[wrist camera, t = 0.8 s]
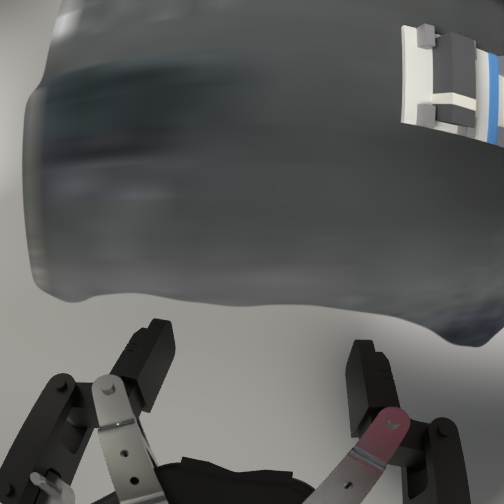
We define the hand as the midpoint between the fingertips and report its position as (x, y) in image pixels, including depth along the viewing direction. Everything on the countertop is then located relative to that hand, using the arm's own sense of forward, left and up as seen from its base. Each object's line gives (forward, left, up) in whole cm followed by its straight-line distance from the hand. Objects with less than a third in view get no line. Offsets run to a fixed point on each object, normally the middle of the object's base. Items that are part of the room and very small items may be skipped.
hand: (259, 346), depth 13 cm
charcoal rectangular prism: (-16, +18, -24) cm, 34 cm away
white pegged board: (-16, +24, -25) cm, 38 cm away
